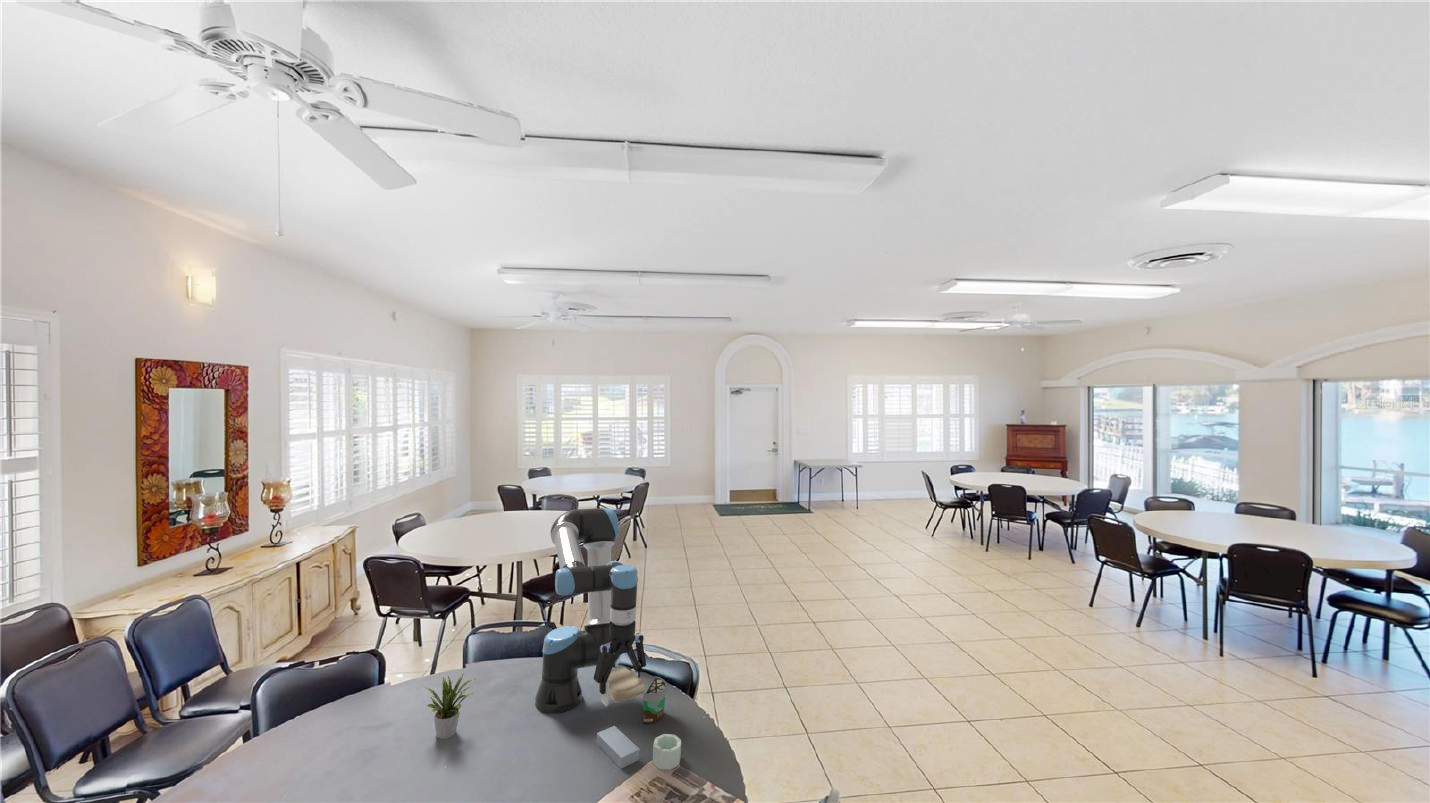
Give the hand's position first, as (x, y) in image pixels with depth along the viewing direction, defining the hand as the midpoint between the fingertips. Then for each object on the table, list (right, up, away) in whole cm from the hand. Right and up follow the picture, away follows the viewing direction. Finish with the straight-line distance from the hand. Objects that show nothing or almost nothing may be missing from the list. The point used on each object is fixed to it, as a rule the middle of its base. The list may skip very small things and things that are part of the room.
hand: (619, 697), depth 151 cm
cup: (+14, -16, -3) cm, 21 cm away
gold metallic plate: (0, +3, 0) cm, 3 cm away
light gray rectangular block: (-1, -15, 0) cm, 15 cm away
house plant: (-52, -14, +5) cm, 54 cm away
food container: (+9, -16, +17) cm, 25 cm away
